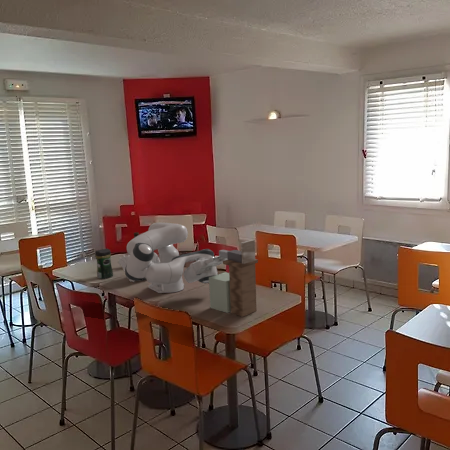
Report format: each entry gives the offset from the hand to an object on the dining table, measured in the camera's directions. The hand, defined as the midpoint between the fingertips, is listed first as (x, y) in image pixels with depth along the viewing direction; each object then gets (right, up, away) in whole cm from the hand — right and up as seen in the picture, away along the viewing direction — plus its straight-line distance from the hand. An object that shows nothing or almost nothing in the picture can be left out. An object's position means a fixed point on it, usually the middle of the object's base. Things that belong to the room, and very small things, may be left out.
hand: (219, 257), depth 232 cm
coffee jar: (-75, -18, +67) cm, 102 cm away
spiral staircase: (-50, -18, +60) cm, 80 cm away
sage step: (+4, -26, +3) cm, 26 cm away
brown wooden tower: (+11, -27, -5) cm, 29 cm away
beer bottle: (-58, -13, +91) cm, 109 cm away
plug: (+6, 0, -6) cm, 9 cm away
